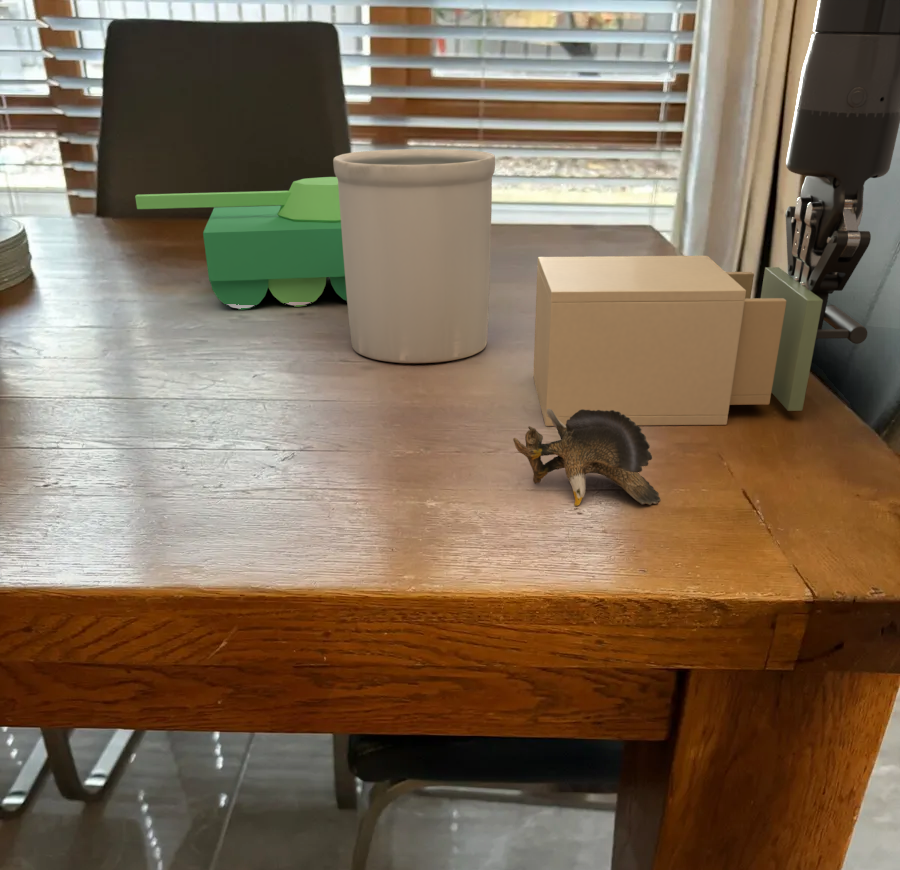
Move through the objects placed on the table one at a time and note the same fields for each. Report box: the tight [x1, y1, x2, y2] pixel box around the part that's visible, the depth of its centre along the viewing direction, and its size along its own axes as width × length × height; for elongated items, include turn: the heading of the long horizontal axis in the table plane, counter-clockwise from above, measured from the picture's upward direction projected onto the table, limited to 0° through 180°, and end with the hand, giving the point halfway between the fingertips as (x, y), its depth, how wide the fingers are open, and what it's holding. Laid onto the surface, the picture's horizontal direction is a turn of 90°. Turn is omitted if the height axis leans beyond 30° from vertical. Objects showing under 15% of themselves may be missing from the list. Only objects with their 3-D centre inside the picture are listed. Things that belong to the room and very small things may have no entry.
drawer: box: [725, 266, 868, 412], centre depth 81 cm, size 18×11×9 cm, turn 90°
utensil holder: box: [332, 148, 496, 364], centre depth 94 cm, size 15×15×18 cm
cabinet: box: [532, 255, 746, 427], centre depth 81 cm, size 15×13×11 cm
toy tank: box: [134, 176, 347, 311], centre depth 115 cm, size 18×12×35 cm
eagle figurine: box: [512, 409, 662, 507], centre depth 66 cm, size 8×7×9 cm
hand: (803, 337), depth 81 cm, fingers closed
